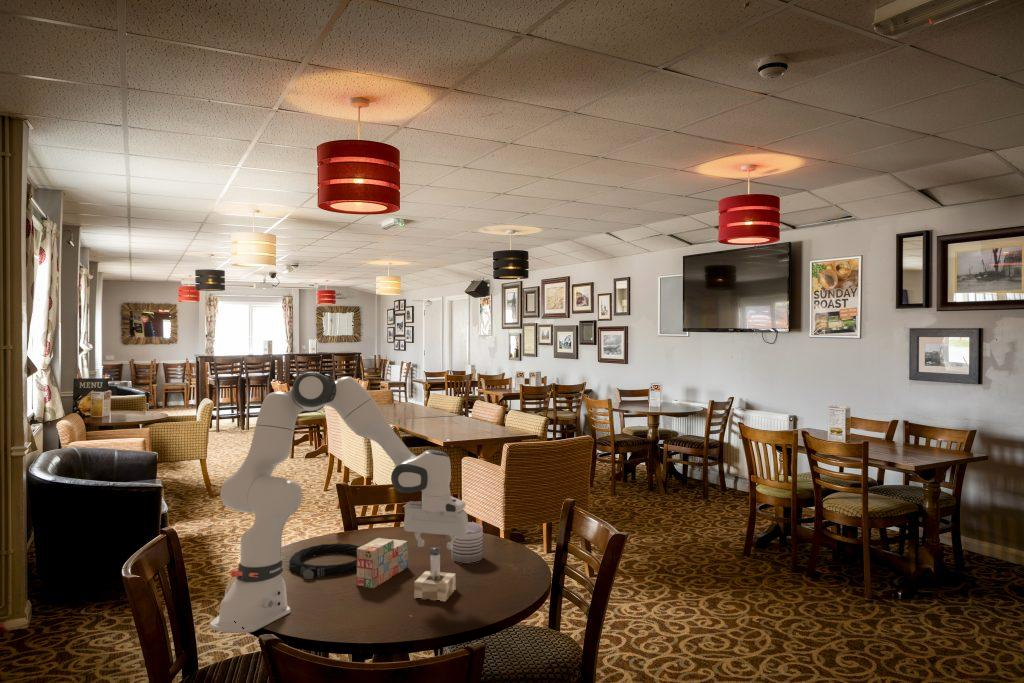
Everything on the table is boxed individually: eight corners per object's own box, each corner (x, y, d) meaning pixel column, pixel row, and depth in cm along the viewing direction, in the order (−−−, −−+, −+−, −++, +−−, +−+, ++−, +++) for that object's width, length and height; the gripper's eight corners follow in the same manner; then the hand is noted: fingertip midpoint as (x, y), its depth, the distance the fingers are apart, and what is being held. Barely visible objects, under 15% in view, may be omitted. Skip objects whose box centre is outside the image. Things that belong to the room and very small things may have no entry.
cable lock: (382, 544, 244) (347, 572, 214) (381, 554, 244) (347, 584, 214) (312, 539, 249) (269, 566, 219) (312, 549, 249) (269, 578, 219)
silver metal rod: (438, 595, 204) (438, 550, 204) (428, 594, 205) (428, 549, 205) (441, 592, 207) (441, 547, 207) (432, 591, 208) (432, 546, 208)
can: (466, 551, 247) (466, 519, 247) (489, 558, 240) (489, 524, 240) (444, 559, 238) (444, 525, 238) (467, 566, 231) (467, 531, 231)
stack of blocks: (392, 565, 232) (392, 530, 232) (408, 567, 229) (408, 532, 229) (356, 586, 212) (356, 547, 212) (372, 589, 210) (372, 550, 209)
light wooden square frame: (445, 601, 200) (445, 584, 200) (414, 598, 202) (414, 581, 202) (455, 589, 210) (455, 573, 210) (425, 586, 212) (425, 570, 212)
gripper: (400, 502, 205) (399, 547, 204) (463, 507, 200) (463, 553, 199) (408, 498, 211) (408, 542, 210) (470, 502, 206) (469, 547, 206)
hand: (435, 547), depth 205 cm, fingers open, 8 cm apart
